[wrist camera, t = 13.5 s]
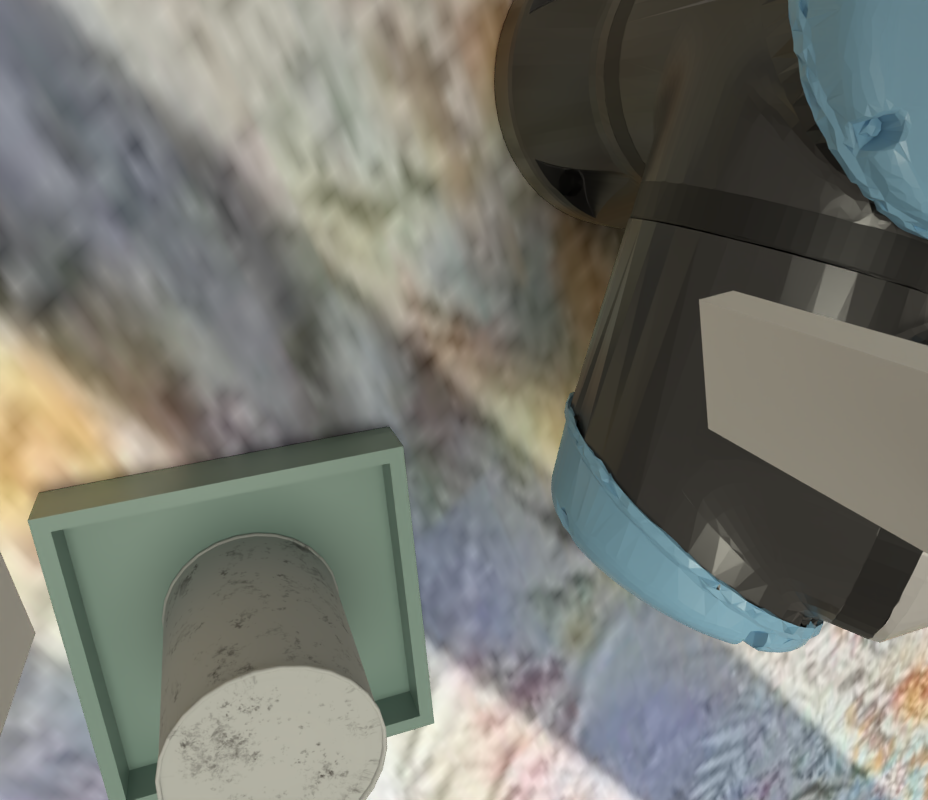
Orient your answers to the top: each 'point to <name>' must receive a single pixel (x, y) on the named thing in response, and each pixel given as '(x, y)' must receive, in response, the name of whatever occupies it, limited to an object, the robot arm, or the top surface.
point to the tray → (196, 528)
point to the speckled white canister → (263, 680)
